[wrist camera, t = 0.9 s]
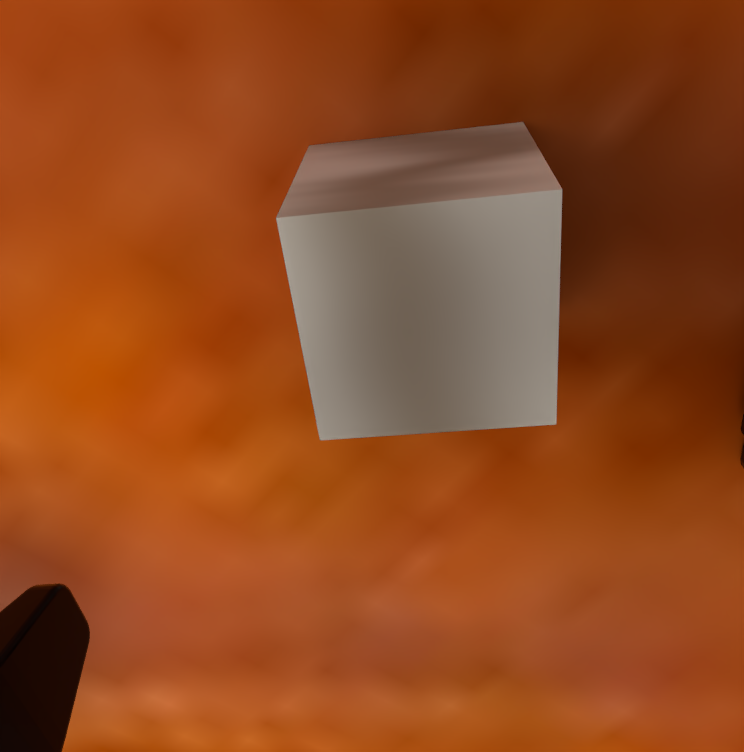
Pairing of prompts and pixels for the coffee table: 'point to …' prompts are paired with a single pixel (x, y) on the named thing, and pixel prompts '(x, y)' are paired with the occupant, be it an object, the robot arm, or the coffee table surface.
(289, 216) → the cream cube
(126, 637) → the coffee table surface
